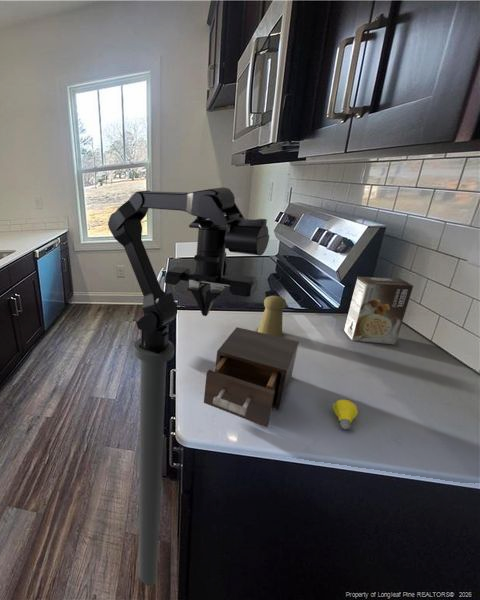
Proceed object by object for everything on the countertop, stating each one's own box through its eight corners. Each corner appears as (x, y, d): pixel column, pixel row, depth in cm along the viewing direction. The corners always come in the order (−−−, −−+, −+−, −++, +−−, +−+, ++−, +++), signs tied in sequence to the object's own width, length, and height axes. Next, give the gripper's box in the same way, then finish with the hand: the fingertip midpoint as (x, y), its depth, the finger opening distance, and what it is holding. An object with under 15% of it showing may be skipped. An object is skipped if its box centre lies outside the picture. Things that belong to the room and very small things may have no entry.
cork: (274, 328, 93) (280, 293, 89) (286, 337, 88) (294, 300, 84) (253, 329, 93) (259, 294, 89) (264, 338, 88) (270, 301, 84)
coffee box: (384, 334, 86) (402, 277, 80) (395, 345, 81) (415, 285, 75) (342, 330, 89) (357, 275, 84) (350, 340, 84) (366, 283, 78)
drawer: (261, 443, 53) (267, 408, 51) (194, 415, 61) (197, 383, 58) (281, 392, 65) (287, 361, 63) (223, 373, 72) (227, 345, 70)
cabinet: (278, 410, 62) (287, 370, 58) (213, 387, 70) (217, 350, 66) (291, 376, 71) (299, 341, 68) (232, 359, 79) (236, 327, 76)
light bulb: (349, 411, 60) (362, 401, 58) (349, 437, 57) (363, 429, 54) (329, 401, 62) (341, 392, 59) (328, 427, 58) (340, 418, 55)
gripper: (268, 245, 68) (258, 312, 74) (184, 239, 80) (181, 297, 85) (254, 256, 60) (244, 330, 66) (164, 248, 72) (162, 311, 78)
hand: (205, 315), depth 74 cm, fingers closed
